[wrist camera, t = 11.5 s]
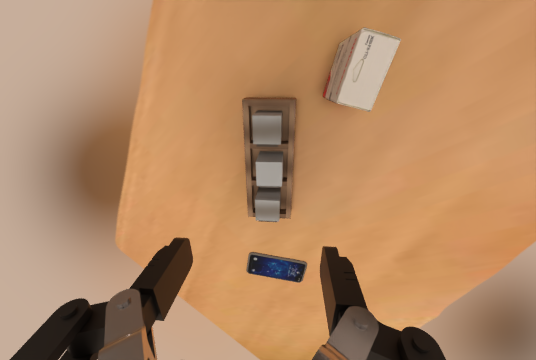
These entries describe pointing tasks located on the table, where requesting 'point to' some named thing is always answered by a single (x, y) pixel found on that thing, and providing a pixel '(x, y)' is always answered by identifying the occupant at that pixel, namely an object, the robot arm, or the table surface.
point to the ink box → (360, 68)
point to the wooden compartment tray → (269, 139)
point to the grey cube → (269, 169)
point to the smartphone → (276, 267)
